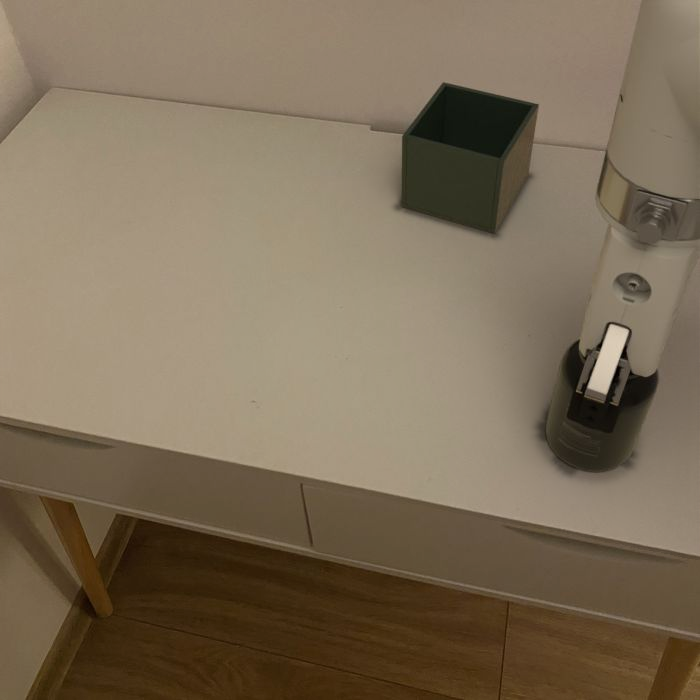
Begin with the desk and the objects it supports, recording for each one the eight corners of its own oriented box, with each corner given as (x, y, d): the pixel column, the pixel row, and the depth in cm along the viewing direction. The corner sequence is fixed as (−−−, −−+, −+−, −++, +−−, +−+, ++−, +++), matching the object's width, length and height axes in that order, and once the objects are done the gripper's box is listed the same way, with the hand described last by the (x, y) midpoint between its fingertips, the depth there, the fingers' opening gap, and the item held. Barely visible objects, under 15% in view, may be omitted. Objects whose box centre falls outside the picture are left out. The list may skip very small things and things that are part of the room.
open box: (528, 175, 86) (539, 104, 79) (494, 233, 80) (503, 162, 74) (439, 152, 89) (442, 81, 83) (401, 206, 83) (401, 136, 77)
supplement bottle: (651, 456, 63) (695, 356, 54) (574, 487, 62) (605, 389, 52) (601, 391, 67) (634, 288, 58) (528, 418, 66) (549, 317, 57)
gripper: (707, 308, 39) (627, 495, 53) (766, 115, 49) (686, 314, 63) (555, 263, 42) (515, 453, 55) (640, 87, 52) (589, 285, 65)
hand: (606, 378), depth 59 cm, fingers open, 7 cm apart
